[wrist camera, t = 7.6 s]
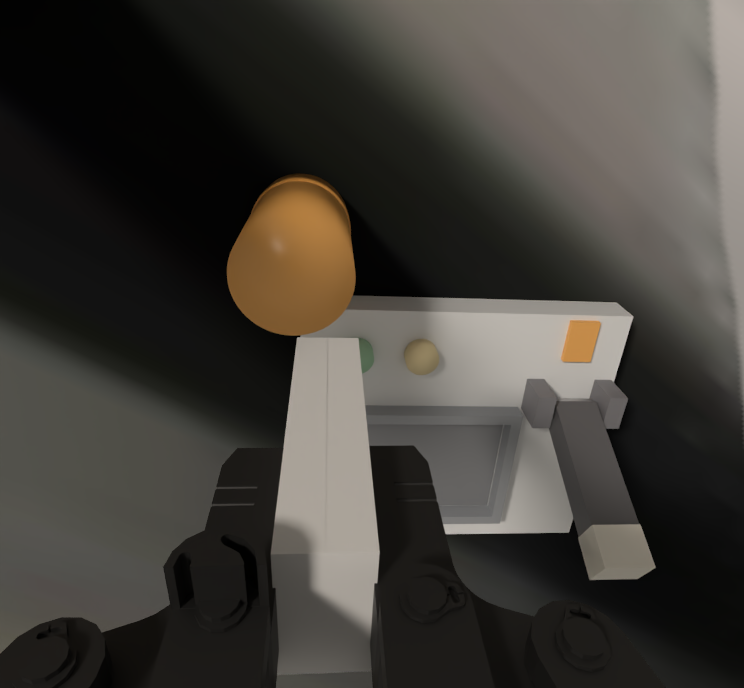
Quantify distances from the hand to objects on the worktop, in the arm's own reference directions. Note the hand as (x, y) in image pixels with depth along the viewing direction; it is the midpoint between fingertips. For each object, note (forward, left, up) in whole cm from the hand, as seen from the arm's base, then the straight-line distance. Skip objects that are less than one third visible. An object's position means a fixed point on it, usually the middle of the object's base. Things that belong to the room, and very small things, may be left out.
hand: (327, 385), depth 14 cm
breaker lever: (+9, +14, -14) cm, 22 cm away
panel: (+12, +8, -16) cm, 21 cm away
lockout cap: (0, -1, -16) cm, 16 cm away
